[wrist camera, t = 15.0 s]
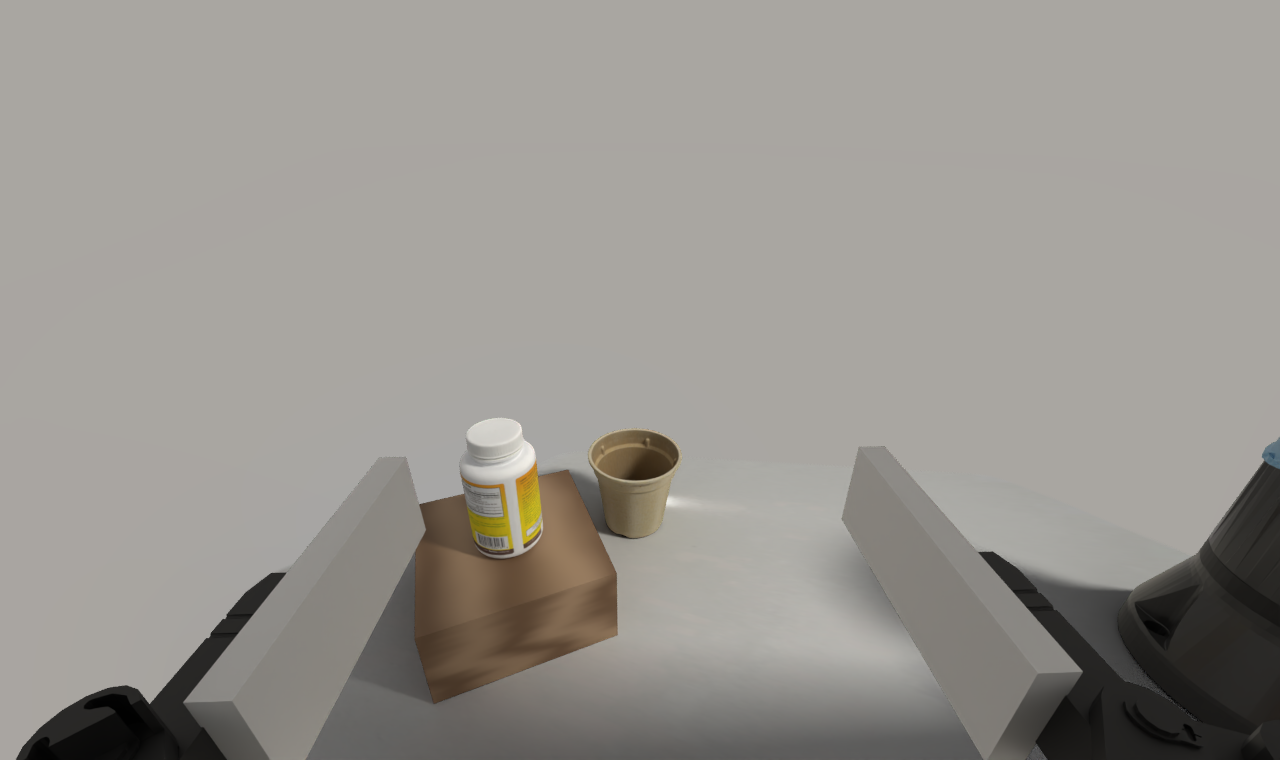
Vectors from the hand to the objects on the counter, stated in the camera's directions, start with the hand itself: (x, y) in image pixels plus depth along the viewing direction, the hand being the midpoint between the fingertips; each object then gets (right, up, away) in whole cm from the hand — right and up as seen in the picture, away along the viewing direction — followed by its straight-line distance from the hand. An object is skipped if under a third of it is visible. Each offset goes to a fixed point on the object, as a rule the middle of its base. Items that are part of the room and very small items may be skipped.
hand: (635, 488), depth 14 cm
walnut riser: (-11, -16, +28) cm, 34 cm away
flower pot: (0, -12, +37) cm, 39 cm away
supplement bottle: (-11, -10, +25) cm, 29 cm away
